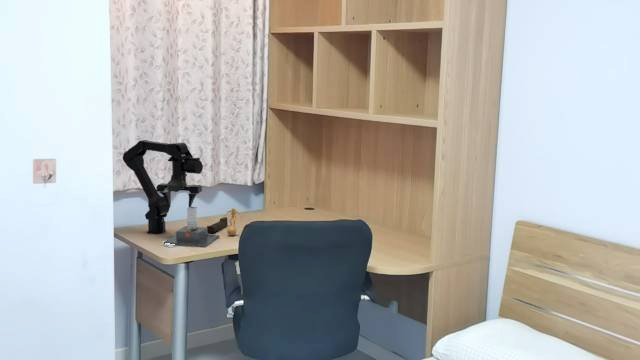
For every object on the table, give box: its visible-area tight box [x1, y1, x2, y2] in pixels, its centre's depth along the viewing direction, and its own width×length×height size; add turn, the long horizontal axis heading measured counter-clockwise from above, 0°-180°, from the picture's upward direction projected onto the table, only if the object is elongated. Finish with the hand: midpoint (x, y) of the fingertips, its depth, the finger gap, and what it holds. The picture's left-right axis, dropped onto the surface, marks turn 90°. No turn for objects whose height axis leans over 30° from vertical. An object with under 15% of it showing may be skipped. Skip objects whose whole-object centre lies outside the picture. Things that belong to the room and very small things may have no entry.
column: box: [186, 206, 198, 230], centre depth 296 cm, size 3×3×9 cm
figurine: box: [224, 207, 243, 237], centre depth 309 cm, size 8×6×12 cm
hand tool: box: [206, 216, 228, 235], centre depth 320 cm, size 19×4×5 cm, turn 162°
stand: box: [163, 225, 220, 248], centre depth 297 cm, size 18×18×6 cm
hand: (179, 207), depth 306 cm, fingers open, 9 cm apart
